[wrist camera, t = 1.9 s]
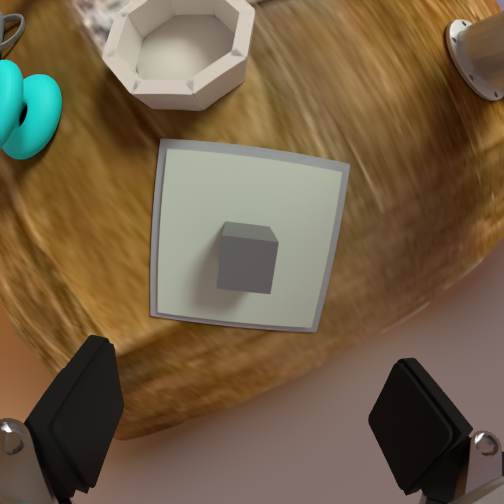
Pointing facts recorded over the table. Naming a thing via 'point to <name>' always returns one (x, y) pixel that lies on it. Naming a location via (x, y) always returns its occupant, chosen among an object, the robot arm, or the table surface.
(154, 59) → the bowl
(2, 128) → the donuts
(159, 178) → the mat
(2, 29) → the ceramic mug
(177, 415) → the table surface
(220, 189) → the lid
